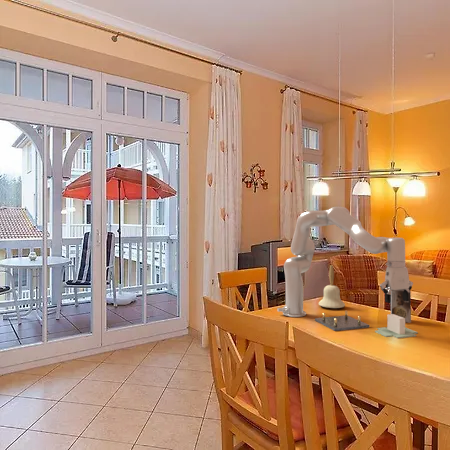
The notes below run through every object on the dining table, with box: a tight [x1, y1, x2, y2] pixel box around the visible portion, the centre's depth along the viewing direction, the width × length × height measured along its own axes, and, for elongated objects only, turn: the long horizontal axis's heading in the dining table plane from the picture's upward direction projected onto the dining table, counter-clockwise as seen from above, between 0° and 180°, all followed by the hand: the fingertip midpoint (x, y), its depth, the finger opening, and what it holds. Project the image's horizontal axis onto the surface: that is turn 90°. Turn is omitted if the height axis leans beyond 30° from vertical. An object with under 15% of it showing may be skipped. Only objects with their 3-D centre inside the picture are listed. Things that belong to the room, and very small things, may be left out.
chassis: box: [314, 310, 370, 332], centre depth 191 cm, size 19×19×5 cm
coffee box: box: [390, 290, 412, 324], centre depth 196 cm, size 9×6×16 cm
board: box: [374, 313, 419, 339], centre depth 176 cm, size 17×14×8 cm
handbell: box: [318, 264, 346, 309], centre depth 225 cm, size 15×15×25 cm
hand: (396, 301), depth 175 cm, fingers open, 9 cm apart
